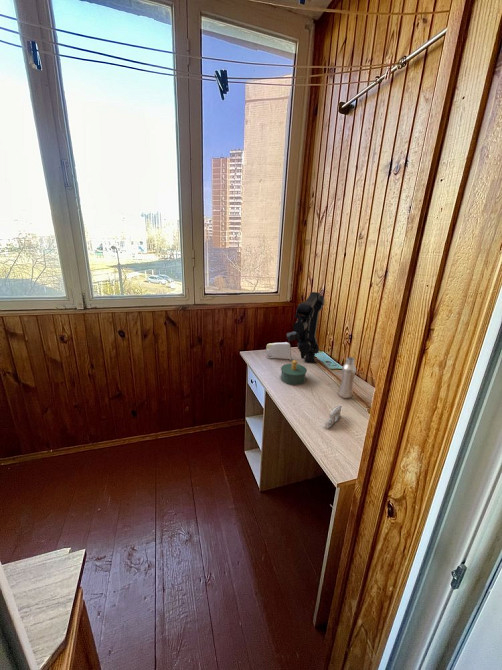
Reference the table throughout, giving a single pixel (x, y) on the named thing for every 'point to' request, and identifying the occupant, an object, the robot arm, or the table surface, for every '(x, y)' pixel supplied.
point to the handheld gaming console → (278, 350)
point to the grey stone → (333, 416)
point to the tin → (292, 379)
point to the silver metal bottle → (347, 378)
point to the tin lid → (293, 369)
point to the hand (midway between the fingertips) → (301, 355)
